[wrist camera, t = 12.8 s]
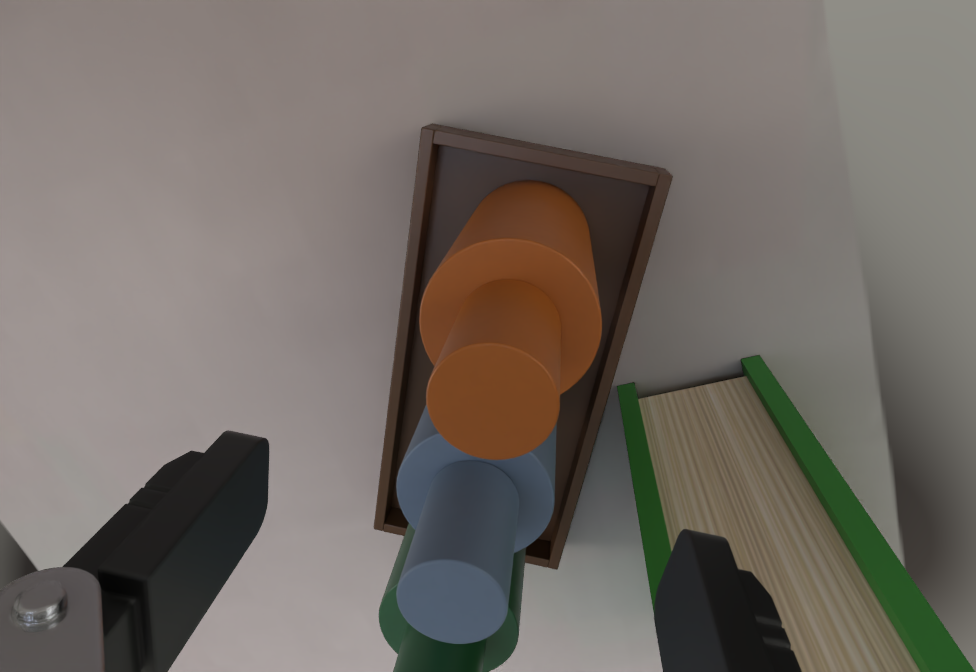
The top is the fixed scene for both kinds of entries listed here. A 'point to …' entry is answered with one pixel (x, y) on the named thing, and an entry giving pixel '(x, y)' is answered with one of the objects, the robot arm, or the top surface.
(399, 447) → the tray
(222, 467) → the robot arm
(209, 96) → the top surface
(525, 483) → the slate bottle
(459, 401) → the amber bottle
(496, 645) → the green bottle
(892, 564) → the hardback book
